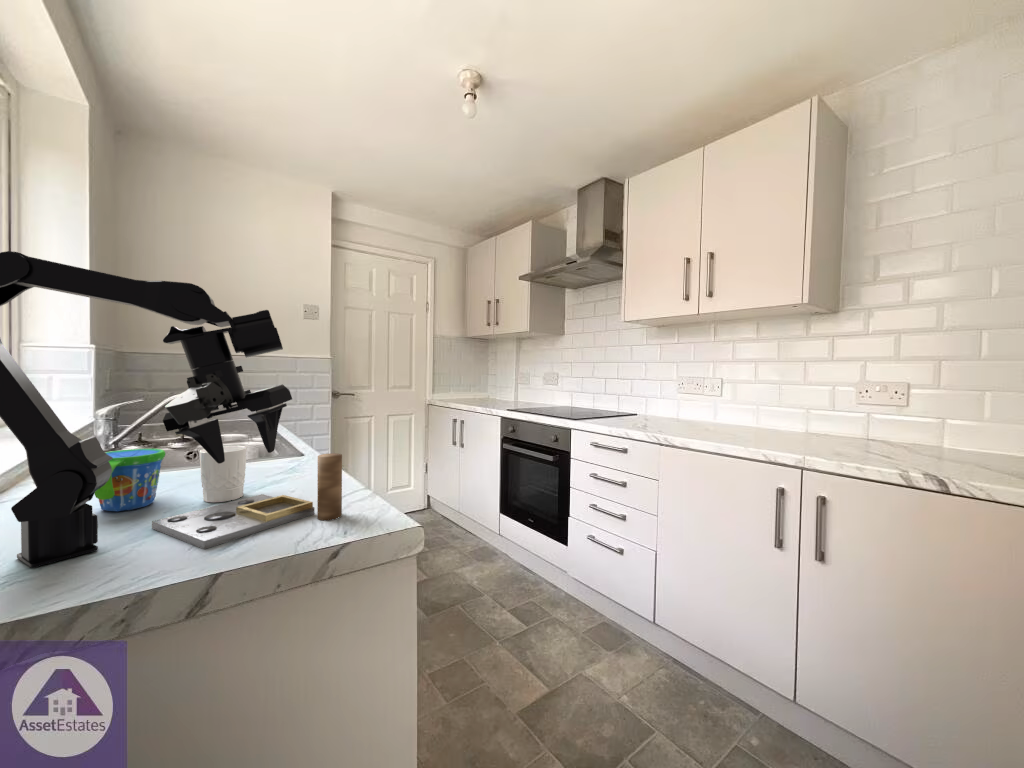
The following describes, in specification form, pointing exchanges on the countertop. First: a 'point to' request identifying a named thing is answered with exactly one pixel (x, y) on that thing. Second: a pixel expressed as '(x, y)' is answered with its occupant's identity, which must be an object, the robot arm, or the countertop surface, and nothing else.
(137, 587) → the countertop surface
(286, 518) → the flange plate
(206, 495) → the white cup
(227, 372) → the robot arm
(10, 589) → the countertop surface
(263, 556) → the countertop surface
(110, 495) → the snack cup
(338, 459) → the dowel
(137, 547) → the countertop surface
